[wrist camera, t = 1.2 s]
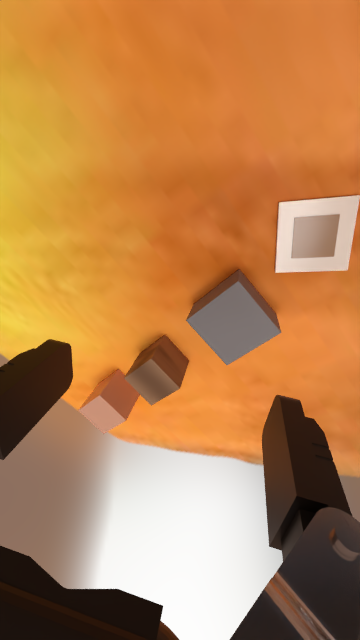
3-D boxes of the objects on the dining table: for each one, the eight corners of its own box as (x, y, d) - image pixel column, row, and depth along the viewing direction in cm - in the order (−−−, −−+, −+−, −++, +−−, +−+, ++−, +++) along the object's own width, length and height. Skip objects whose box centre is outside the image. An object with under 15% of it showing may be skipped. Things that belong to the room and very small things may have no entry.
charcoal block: (229, 343, 35) (226, 365, 30) (193, 303, 33) (186, 320, 29) (276, 313, 32) (281, 332, 27) (239, 268, 30) (238, 280, 26)
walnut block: (164, 376, 39) (151, 405, 34) (140, 352, 38) (123, 378, 33) (189, 360, 37) (180, 388, 32) (165, 334, 36) (151, 358, 31)
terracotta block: (120, 404, 43) (103, 433, 38) (98, 383, 42) (78, 410, 37) (141, 391, 41) (126, 420, 36) (118, 368, 40) (99, 395, 35)
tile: (274, 271, 30) (275, 273, 29) (278, 202, 27) (279, 202, 26) (345, 268, 28) (348, 270, 27) (357, 195, 25) (360, 195, 24)
